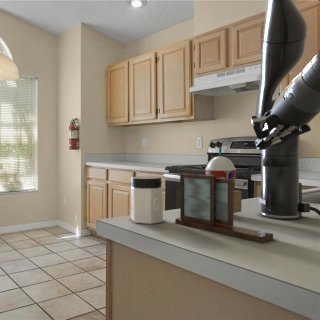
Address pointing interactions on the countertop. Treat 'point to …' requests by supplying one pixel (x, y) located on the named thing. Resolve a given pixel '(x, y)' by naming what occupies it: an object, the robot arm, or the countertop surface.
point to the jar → (146, 199)
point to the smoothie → (221, 168)
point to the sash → (226, 201)
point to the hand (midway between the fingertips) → (259, 146)
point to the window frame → (208, 208)
